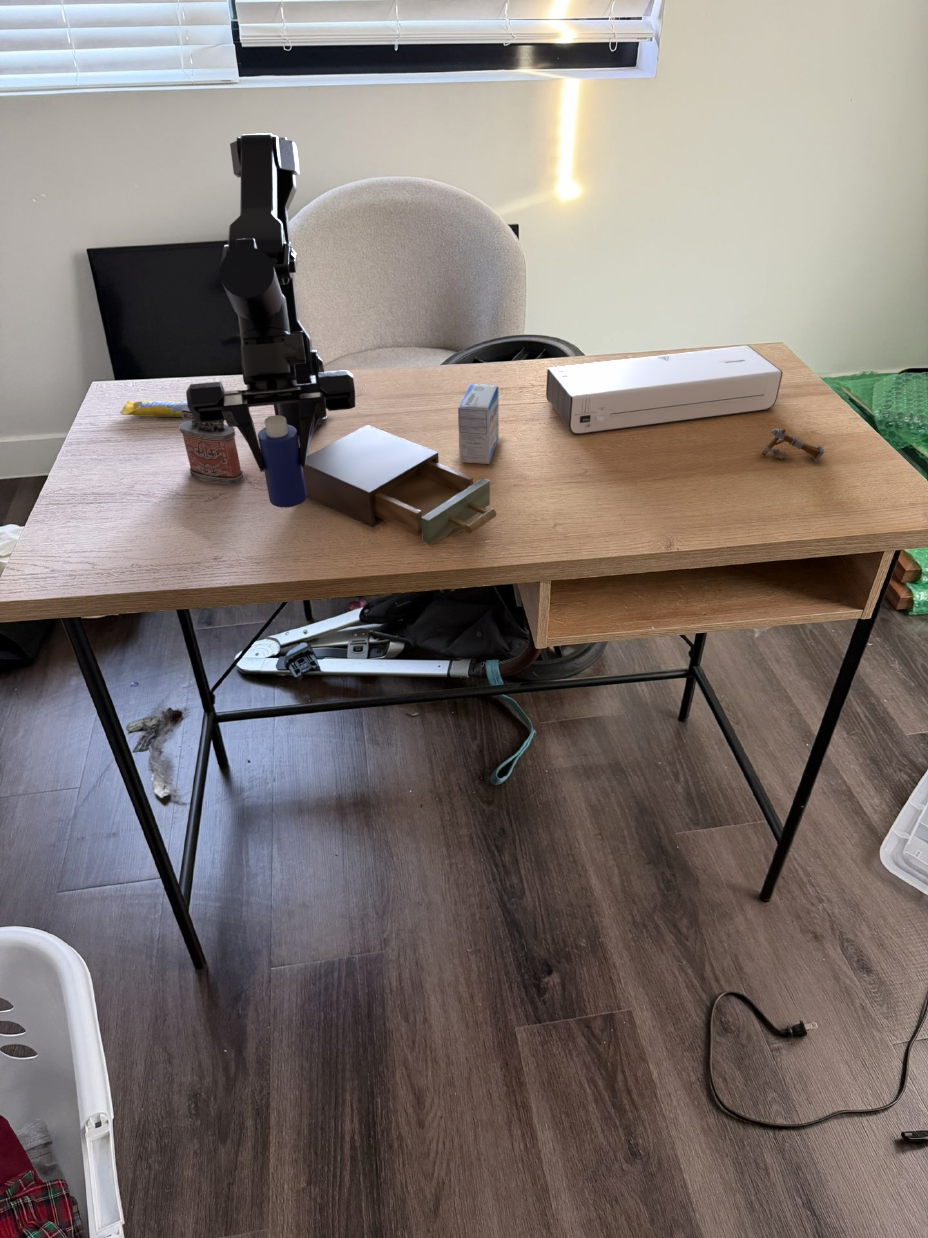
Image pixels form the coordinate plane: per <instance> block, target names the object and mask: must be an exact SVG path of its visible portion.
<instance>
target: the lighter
mask: <svg viewBox="0 0 928 1238" xmlns="http://www.w3.org/2000/svg"><path fill="white" fill-rule="evenodd" d="M181 415H182V417H181V418H182V419H183V420H186V421H183V422H182V423H181V422H180V424H179V427H178V429H179V432H180V434H182V439H183V443H184V445H185V446H184V447H185V451H186V454H187V460H188V463H189V467H190V468H189V473H190V476H191V478H194V479H197V480H200V481H204V482H207V483H215V484H222V485H238V484H240V483H242V482H243V481H244V479H245V476H244V472H243V470H242V468H241V463H240V457H239V453H238V448H237V443H236V438H235V436H236V430H235V427H229V426H228V425H227V424H225V423H224V422H225V420H224V421H220V422H210V423H198V422H196V421H195V419H194V417H193V416H192V414H191V412H190V410H189V408H186V407H185V408H183V409H182V410H181Z"/></svg>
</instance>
